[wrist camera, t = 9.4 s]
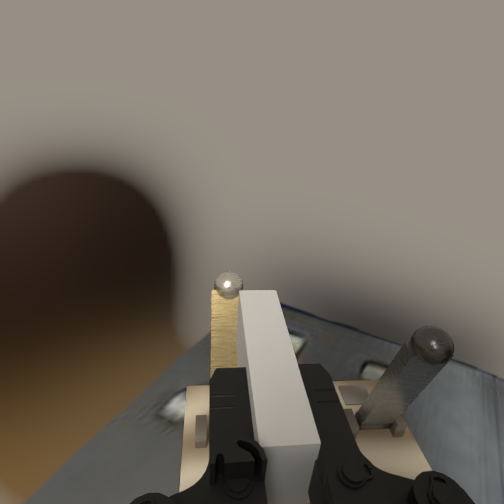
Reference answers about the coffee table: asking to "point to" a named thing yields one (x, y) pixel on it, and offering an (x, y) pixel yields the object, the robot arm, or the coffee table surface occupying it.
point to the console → (351, 397)
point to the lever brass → (225, 320)
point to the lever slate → (405, 378)
